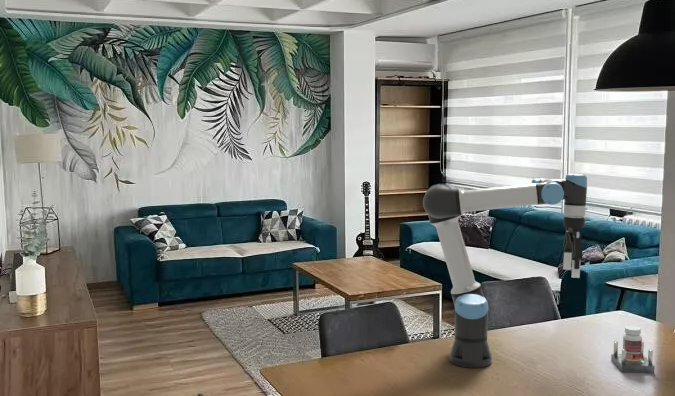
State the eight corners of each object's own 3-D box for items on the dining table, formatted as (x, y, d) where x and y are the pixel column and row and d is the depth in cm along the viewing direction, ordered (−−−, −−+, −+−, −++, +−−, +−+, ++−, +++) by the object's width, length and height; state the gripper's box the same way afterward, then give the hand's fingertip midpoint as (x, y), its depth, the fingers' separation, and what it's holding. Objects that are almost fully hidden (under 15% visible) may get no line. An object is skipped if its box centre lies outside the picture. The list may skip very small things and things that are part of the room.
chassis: (621, 372, 248) (622, 351, 247) (611, 360, 260) (611, 340, 259) (654, 372, 247) (655, 351, 246) (642, 361, 259) (643, 341, 258)
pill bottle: (644, 361, 251) (646, 330, 249) (628, 362, 250) (629, 330, 248) (635, 355, 257) (636, 325, 255) (619, 356, 256) (620, 325, 255)
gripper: (593, 221, 248) (590, 281, 250) (576, 212, 273) (573, 266, 275) (571, 220, 249) (568, 280, 251) (556, 211, 273) (553, 266, 276)
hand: (571, 273), depth 263 cm, fingers open, 13 cm apart
